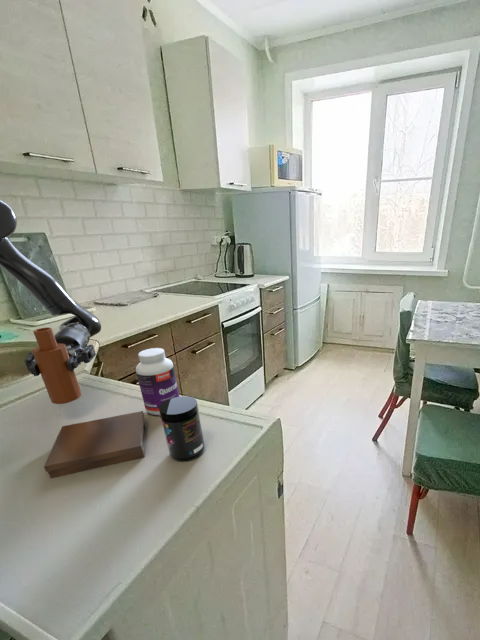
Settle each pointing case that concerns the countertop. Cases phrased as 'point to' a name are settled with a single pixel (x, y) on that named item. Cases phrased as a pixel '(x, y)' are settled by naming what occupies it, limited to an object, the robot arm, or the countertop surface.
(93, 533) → the countertop surface
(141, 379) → the pill bottle
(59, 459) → the brown wooden box
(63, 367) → the bottle
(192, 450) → the supplement container
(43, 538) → the countertop surface
